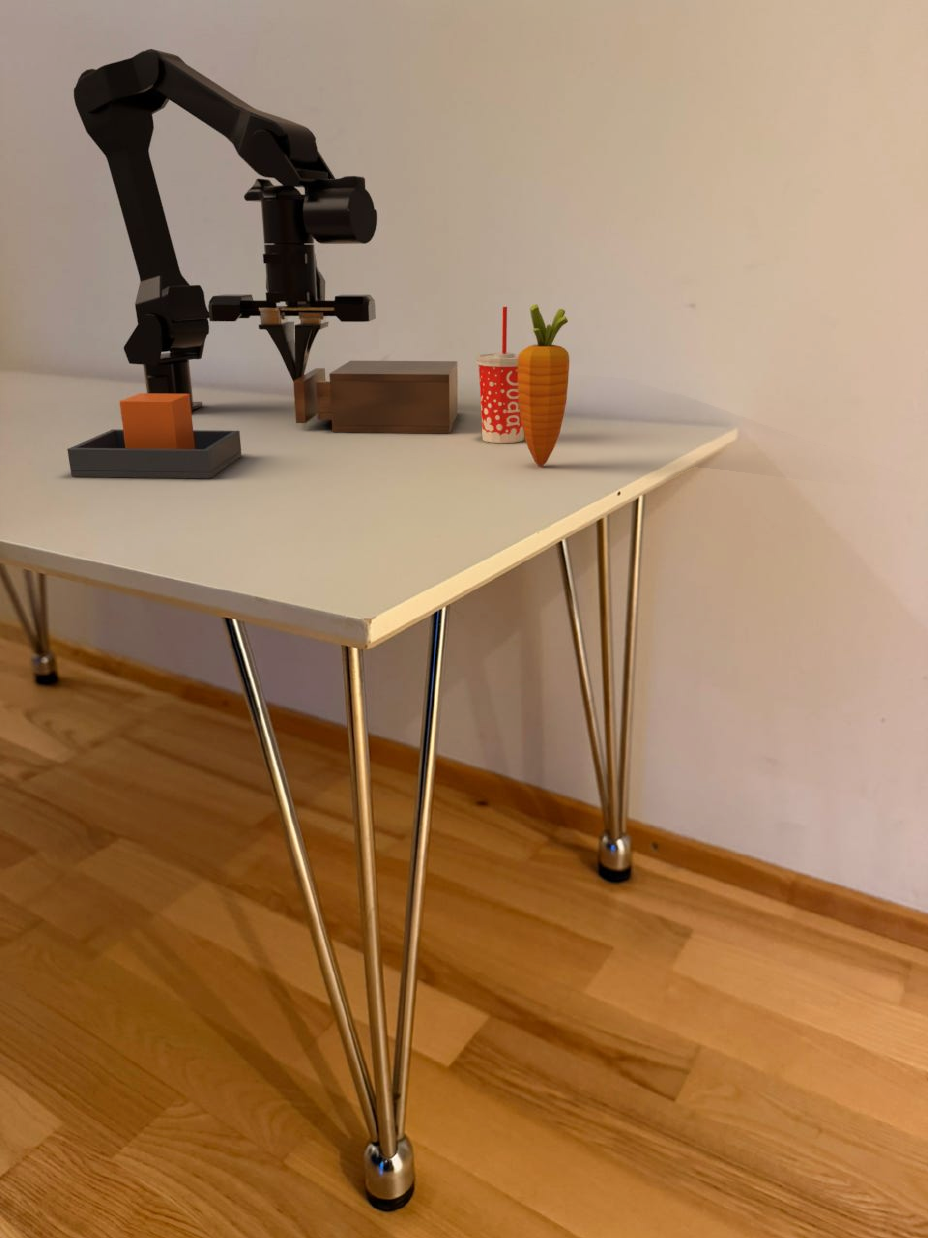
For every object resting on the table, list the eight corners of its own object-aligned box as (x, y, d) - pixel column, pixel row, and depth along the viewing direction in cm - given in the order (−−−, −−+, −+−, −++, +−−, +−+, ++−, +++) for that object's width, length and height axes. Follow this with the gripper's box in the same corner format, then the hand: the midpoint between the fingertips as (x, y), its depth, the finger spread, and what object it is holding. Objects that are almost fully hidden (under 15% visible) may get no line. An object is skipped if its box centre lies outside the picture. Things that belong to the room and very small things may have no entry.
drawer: (285, 422, 110) (282, 380, 108) (308, 406, 122) (306, 367, 120) (402, 424, 109) (401, 381, 108) (414, 407, 121) (414, 368, 119)
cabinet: (332, 432, 110) (329, 373, 107) (352, 413, 122) (350, 360, 120) (449, 433, 109) (449, 374, 106) (457, 414, 121) (457, 361, 119)
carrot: (558, 460, 95) (564, 302, 89) (572, 470, 90) (579, 305, 85) (510, 462, 94) (512, 302, 89) (521, 472, 90) (525, 305, 84)
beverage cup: (482, 445, 102) (483, 308, 97) (470, 435, 108) (470, 305, 103) (537, 443, 103) (540, 307, 98) (522, 433, 109) (525, 304, 104)
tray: (115, 454, 98) (112, 429, 97) (241, 456, 97) (239, 430, 96) (71, 476, 88) (66, 448, 87) (210, 478, 87) (208, 450, 86)
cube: (147, 454, 95) (139, 393, 93) (196, 454, 94) (189, 393, 92) (127, 464, 90) (118, 400, 88) (178, 465, 90) (171, 401, 88)
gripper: (380, 244, 116) (384, 375, 121) (229, 244, 117) (240, 374, 123) (365, 243, 105) (370, 387, 111) (200, 244, 107) (214, 386, 112)
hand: (298, 383), depth 114 cm, fingers closed
